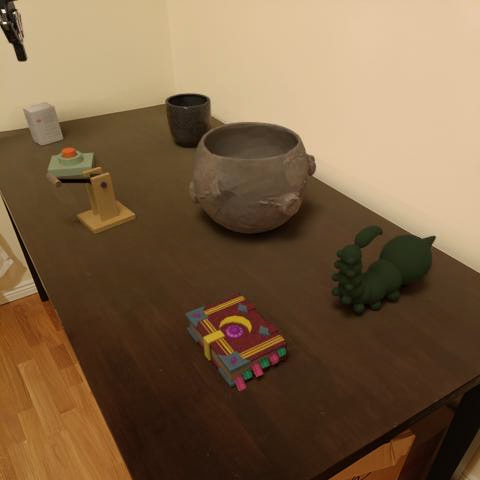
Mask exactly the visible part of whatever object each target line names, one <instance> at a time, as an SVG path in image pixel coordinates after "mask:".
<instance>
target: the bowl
mask: <svg viewBox="0 0 480 480" xmlns="http://www.w3.org/2000/svg"><path fill="white" fill-rule="evenodd" d="M316 170H317V164H316V158H315V156H314V155H311V154H308V153H307V151H306V147H305V144H304V143H303V140H302V138H301V137H300V135H299V134H298V133H297V132H295V131H294V130H292V129H290V128H287V127H286V126H282V125H279V124H275V123H269V122H260V121H259V122H258V121H238V122H231V123H230V122H229V123H226V124H221V125H219V126H216V127H214V128H212V129H211V128H210V130H209V131H208V132H207V133H206V134H204V135H203V137H202V139H201V140H200V142H199V144H198V146H196V149H195V153H194V157H193V162H192V172H191V173H192V175H191V176H192V180H191V181H190V182H189V188H188V189H189V190H188V191H189V195H190V197H191V200H192V203H193V204H194V205H197V204H199V206H200V207H201V208H202V209H203V211H204V212H205V213H206V214H207V215H208V216H209V217H210V218H211V220H213V221H214V222H215V223H216V224H218V225H220V226H222V227H224V228H226V229H227V230H230V231H232V232H235V233H240V234H247V235H250V234H258V233H260V234H261V233H265V232H269V231H272V230H275V229H277V228H278V227H281V226H282V225H284V224H285V223H286V222H287V221H289V220H290V219H291V218H292V216H294V215H295V214H297V213H298V211H299V209H300V207H301V205H302V203H303V200H304V197H305V193H306V189H307V184H308V180H309V177H312V176H314V174H315V173H316Z"/></svg>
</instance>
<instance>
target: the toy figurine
mask: <svg viewBox="0 0 480 480" xmlns="http://www.w3.org/2000/svg"><path fill="white" fill-rule="evenodd" d="M383 234H384V230H383V228H382V227H380V226H378V225H374V224H373V225H367V226H366V227H365V228H362V229H361V230H360V231H359V232H358V233H357V234H356V235H355V237H354V241H353V243H354V244H353V243H352V244H351V243H350V244H348V245H345V246H344V247H342V249H338V250H337V251H336V257H337V258H339V259H337V260H335V261H334V262H333V267H334V268H335V269H337V270H339V271H338V272H333V274H332V275H331V280H332V281H333V282H338V284H337V286H335V287H333V288H332V289H331V291H330V292H331V295H332V296H333V297H338V299H339V300H340V301H341V302H342V304H343V305H346V306H348V305H350V304H352V310H353V311H354V312H355V313H356V314H361V313H363V312H364V311H365V305H369V308H370V309H371V310H374V311H377V310H380V308H381V307H382V299H383V298H385V297H386V298H387V300H388V301H393V302H394V301H396V300H397V299H398V298H399V297H400V296H401V293H400V290H399V289H400V288H401V287H402V286H404V287H408V286H411V285H413V284H415V283H416V282H419V281H421V280H422V279H424V277H426V276H427V275H428V273H429V271H430V269H431V268H432V265H433V254H432V253H433V252H432V249H431V247H432V246H433V245H434V243H435V241H436V238H437V236H436V235H430V236H427V237H423V238H422V237H420V236H418V235H414V234H408V233H407V234H400V235H397V236H395V237H393V238H391V239H390V240H388V241H387V242H386V243H385V244H384V245H383V247H382V249H381V251H380V253H379V258H378V259H377V260H376V261H374V262H372V263H371V264H370V265H369V266H368V268H367V269H366V271H364V272H363V271H362V270H363V268H364V267H363V266H364V265H363V261H362V259H363V258H362V257H363V252H362V250H361V249H364V248H366V247H368V246H369V245H370V244H371V243H372V242H373V241H374V239H375V238H377V237H378V236H382V235H383Z"/></svg>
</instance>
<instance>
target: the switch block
mask: <svg viewBox="0 0 480 480" xmlns="http://www.w3.org/2000/svg"><path fill="white" fill-rule="evenodd" d="M75 152H76V156H75V157H72V158H64V157H63V154H62V152H60V153H58V154H57V155H56V154H55V155H51V158H50V161H49V164H48V167H47V170H46V171H47V173H51V174H52V175H53V176H55V177H76V176H83V173H82V172H84V171H87V170H90V169H94V168H95V163H96V157H95V153H94V152H84V153H83V152H81V151H80V150H75Z"/></svg>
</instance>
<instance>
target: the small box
mask: <svg viewBox="0 0 480 480" xmlns="http://www.w3.org/2000/svg"><path fill="white" fill-rule="evenodd" d="M22 111H23V113H24V117H25V119H26V120H25V121H26V122H27V125H28V129H29V132H30V135H31V137H32V140H33V142H34V143H35V144H38V145H39V146H41V147H43V146H47V145H50V144H53V143H57V142H60V141H63V140H64V136H63V132H62V129H61V126H60V122H59V119H58V115H57V111H56V109H55V106H54V105H52V104H50V103H49V102H47V101H45V102H41V103H36V104H33V105H29V106H25V107H22Z"/></svg>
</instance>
